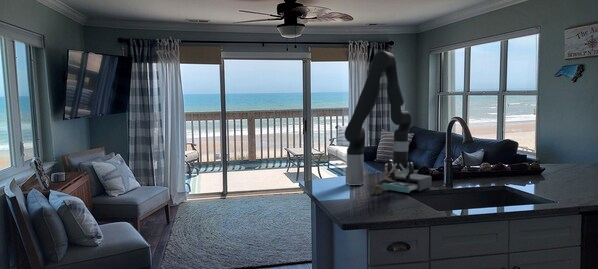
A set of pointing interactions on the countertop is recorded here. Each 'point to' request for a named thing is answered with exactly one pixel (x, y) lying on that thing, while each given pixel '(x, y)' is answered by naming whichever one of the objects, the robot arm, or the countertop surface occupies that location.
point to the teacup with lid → (388, 174)
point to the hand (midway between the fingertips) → (400, 181)
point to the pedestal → (378, 189)
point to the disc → (401, 184)
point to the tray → (400, 187)
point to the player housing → (416, 180)
